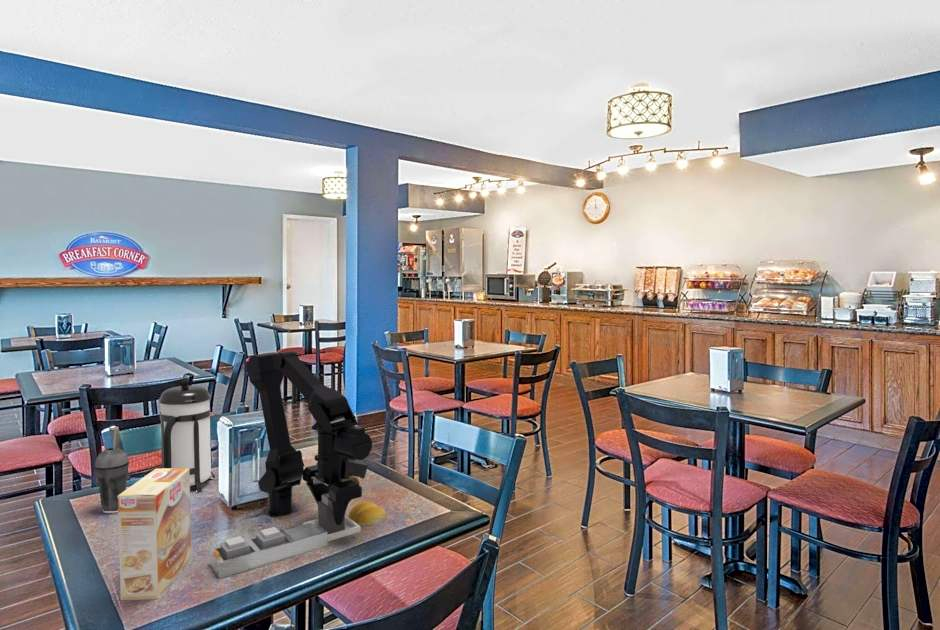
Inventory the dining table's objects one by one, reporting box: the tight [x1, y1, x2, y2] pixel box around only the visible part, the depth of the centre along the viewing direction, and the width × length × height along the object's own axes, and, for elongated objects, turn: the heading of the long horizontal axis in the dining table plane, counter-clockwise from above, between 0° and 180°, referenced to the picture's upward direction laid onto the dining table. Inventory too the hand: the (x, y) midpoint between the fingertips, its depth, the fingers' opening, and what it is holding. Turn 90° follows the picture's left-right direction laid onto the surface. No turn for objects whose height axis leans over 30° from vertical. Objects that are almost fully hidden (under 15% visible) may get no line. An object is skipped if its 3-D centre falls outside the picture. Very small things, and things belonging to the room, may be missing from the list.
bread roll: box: [348, 501, 387, 527], centre depth 138 cm, size 8×9×4 cm
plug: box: [317, 493, 346, 535], centre depth 131 cm, size 4×4×8 cm
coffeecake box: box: [117, 467, 192, 601], centre depth 109 cm, size 15×7×20 cm, turn 5°
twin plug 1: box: [219, 535, 250, 561], centre depth 115 cm, size 4×4×5 cm
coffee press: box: [158, 377, 216, 492], centre depth 157 cm, size 17×16×30 cm
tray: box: [302, 514, 362, 542], centre depth 131 cm, size 10×10×2 cm
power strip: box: [208, 520, 329, 579], centre depth 119 cm, size 7×22×4 cm, turn 129°
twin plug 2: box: [255, 526, 285, 550], centre depth 119 cm, size 4×4×5 cm
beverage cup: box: [93, 428, 130, 511], centre depth 141 cm, size 7×7×20 cm
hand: (331, 518), depth 131 cm, fingers open, 7 cm apart
